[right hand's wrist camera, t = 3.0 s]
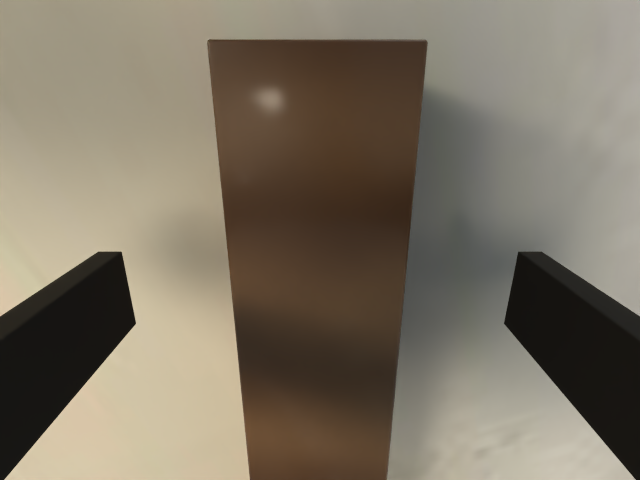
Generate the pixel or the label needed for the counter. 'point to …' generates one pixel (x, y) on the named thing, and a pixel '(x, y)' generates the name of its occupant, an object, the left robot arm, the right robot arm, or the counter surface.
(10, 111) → the counter surface
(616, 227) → the counter surface
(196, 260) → the counter surface
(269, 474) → the bar
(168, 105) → the counter surface
